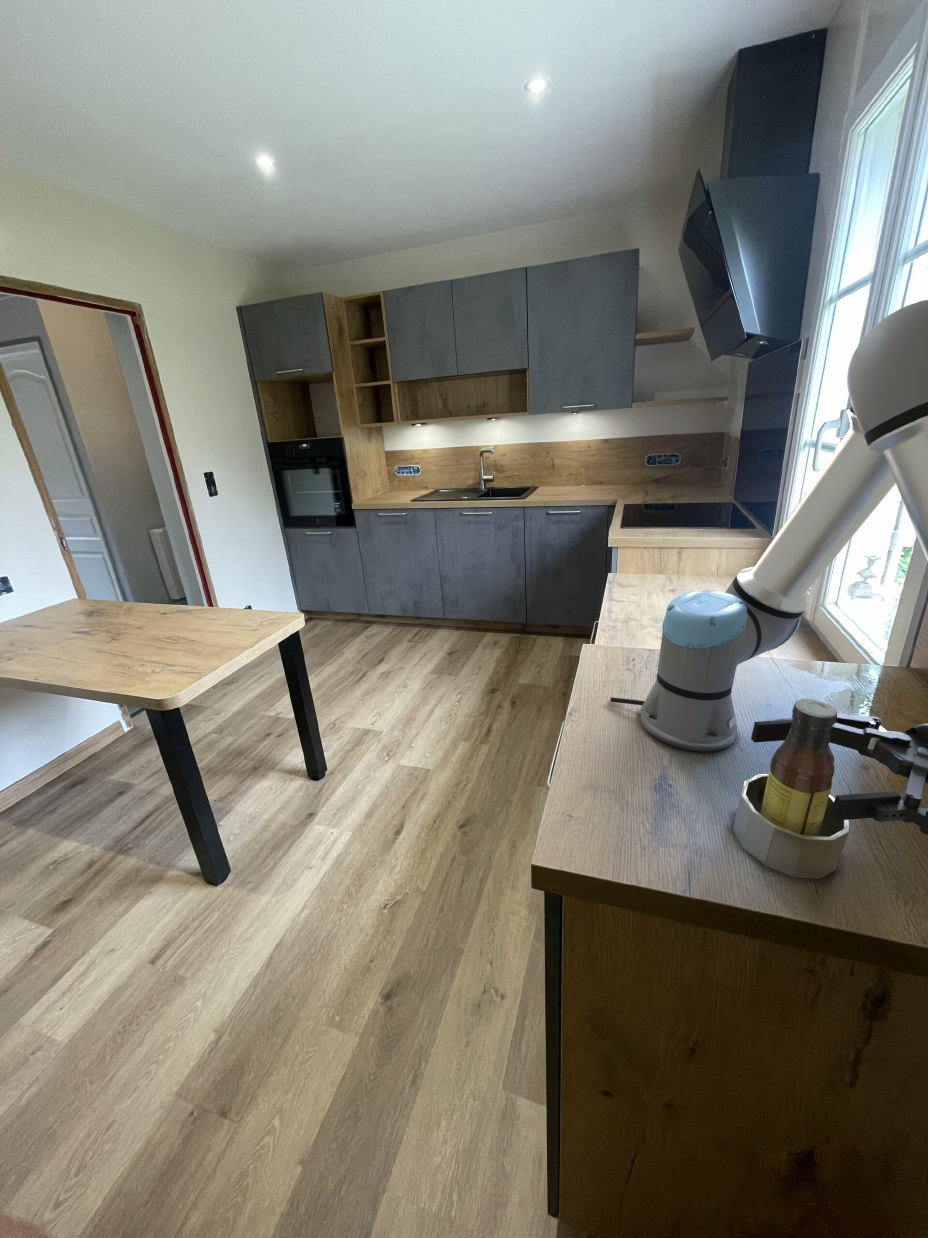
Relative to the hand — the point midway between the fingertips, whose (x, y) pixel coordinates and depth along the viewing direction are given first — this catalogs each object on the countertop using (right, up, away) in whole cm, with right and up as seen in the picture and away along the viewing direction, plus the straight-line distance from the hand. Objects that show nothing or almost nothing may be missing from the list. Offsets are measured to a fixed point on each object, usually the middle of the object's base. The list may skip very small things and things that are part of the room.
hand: (790, 766), depth 57 cm
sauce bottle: (+2, -11, +5) cm, 12 cm away
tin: (+2, -11, +5) cm, 12 cm away
